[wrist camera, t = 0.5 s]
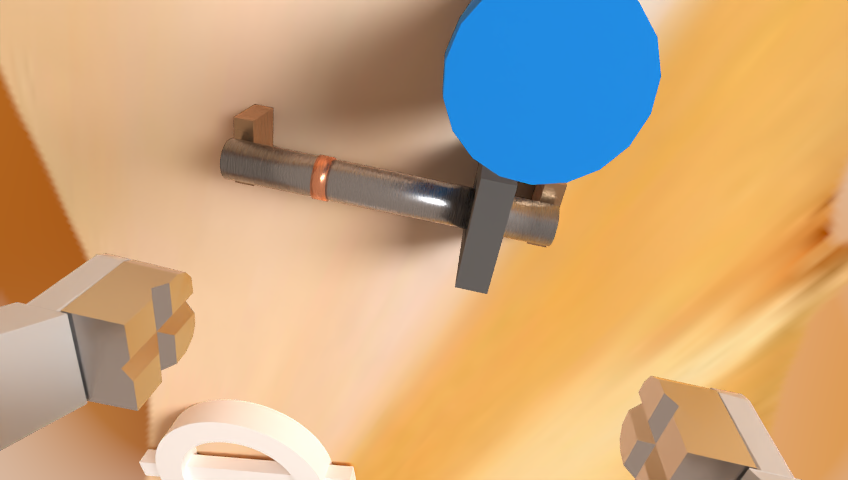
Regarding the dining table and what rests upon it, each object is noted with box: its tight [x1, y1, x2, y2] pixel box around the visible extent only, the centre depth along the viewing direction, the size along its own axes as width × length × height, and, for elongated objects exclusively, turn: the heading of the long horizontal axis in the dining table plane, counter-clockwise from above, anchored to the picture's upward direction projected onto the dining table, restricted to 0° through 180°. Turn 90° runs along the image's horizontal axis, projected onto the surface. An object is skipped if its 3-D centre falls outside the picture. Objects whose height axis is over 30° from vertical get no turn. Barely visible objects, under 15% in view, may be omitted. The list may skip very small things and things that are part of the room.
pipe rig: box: [220, 104, 567, 247], centre depth 51 cm, size 7×33×9 cm, turn 81°
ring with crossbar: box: [139, 399, 356, 480], centre depth 82 cm, size 28×28×5 cm
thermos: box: [443, 0, 661, 185], centre depth 36 cm, size 11×11×25 cm
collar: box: [455, 163, 517, 294], centre depth 48 cm, size 11×3×11 cm, turn 171°
